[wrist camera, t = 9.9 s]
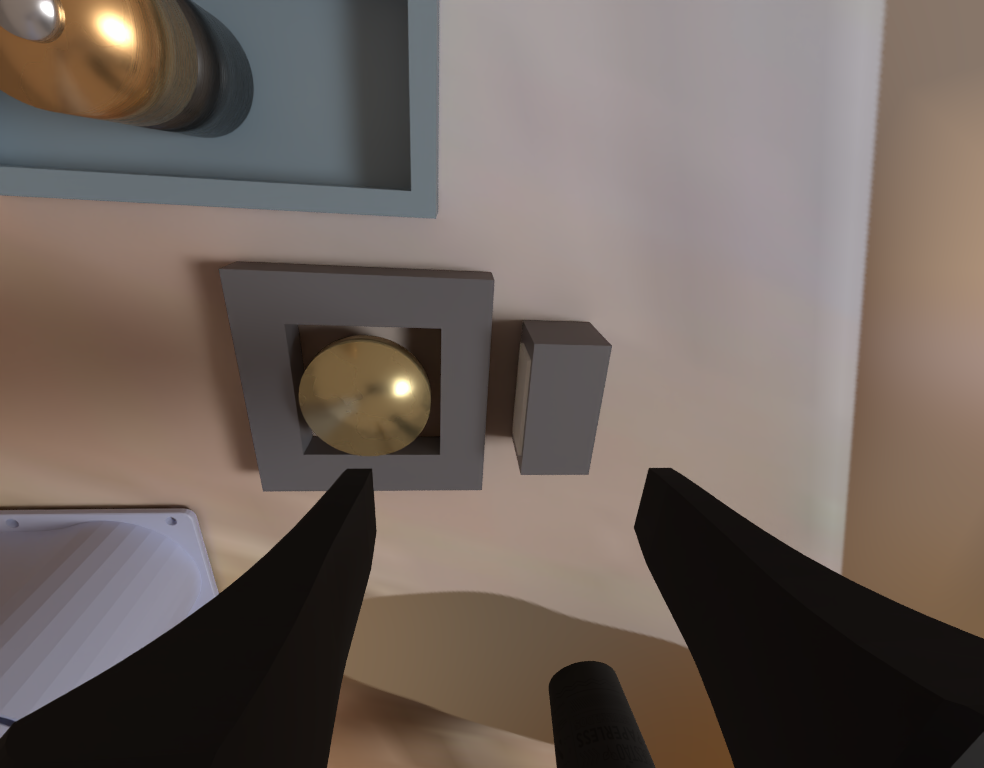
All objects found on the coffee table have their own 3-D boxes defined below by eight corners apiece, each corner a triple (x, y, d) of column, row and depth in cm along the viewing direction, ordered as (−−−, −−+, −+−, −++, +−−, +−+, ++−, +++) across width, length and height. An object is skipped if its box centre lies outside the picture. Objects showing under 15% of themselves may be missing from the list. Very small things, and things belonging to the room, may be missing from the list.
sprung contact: (312, 445, 20) (306, 456, 19) (296, 333, 17) (290, 340, 17) (431, 446, 20) (430, 456, 19) (431, 337, 18) (430, 343, 17)
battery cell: (148, 133, 15) (-49, 103, 9) (117, -4, 13) (-144, -148, 7) (261, 141, 15) (144, 118, 9) (243, 9, 14) (90, -119, 8)
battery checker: (275, 471, 22) (249, 513, 19) (236, 261, 17) (196, 277, 15) (566, 470, 23) (581, 510, 20) (596, 276, 19) (621, 293, 16)
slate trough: (-8, 188, 16) (-89, 190, 13) (-121, -109, 12) (-255, -175, 10) (437, 212, 17) (435, 218, 15) (439, -45, 14) (437, -90, 12)
